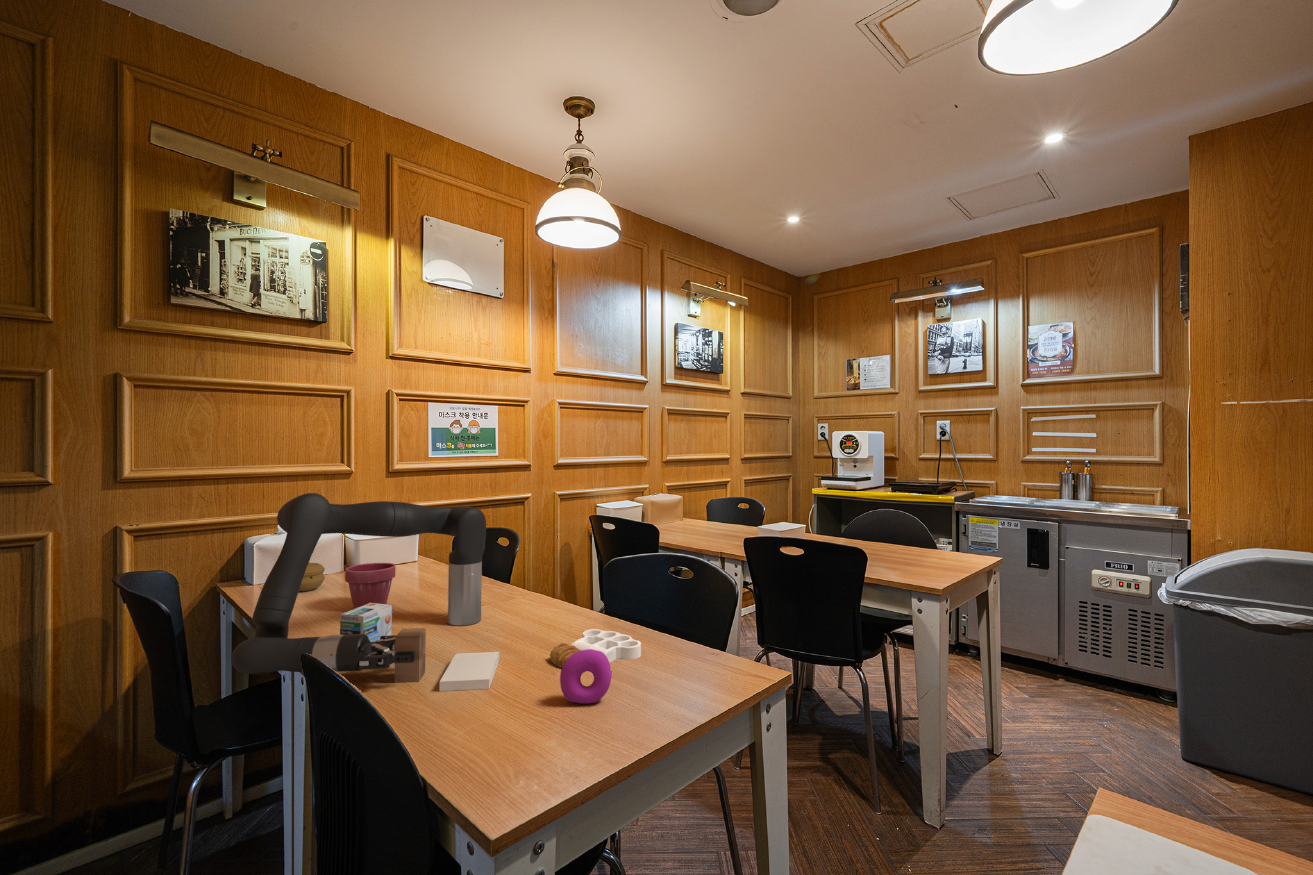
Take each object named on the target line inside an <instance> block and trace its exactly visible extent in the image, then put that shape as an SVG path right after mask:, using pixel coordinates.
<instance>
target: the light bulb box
mask: <svg viewBox="0 0 1313 875" xmlns="http://www.w3.org/2000/svg"><path fill="white" fill-rule="evenodd" d="M339 617H340V618H339V619H340V621H339V624H340V625H339V626H340V628H339V635H348V634H366V635H367V636H368V638H369V641H370V642H375V641H376V640H380V636H389V635H392V627H393V626H392V623H393V622H392V620H393V605H392V604H376V603H369V604H366V605H364V606H361V607H358V608H356V609H354V608H353V609H350V610H349V611H346V612H343V613H340V616H339Z"/></svg>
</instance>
